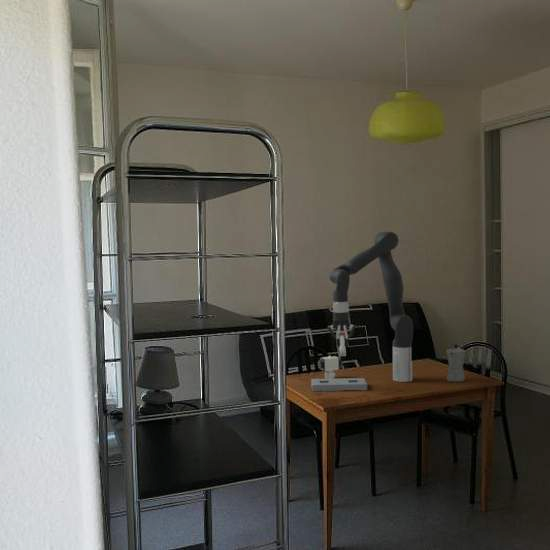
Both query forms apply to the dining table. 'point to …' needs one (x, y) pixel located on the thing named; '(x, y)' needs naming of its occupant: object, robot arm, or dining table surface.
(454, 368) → the coffeepot
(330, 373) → the pneumatic valve
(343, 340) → the lock pin
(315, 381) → the mount board
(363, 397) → the dining table surface
